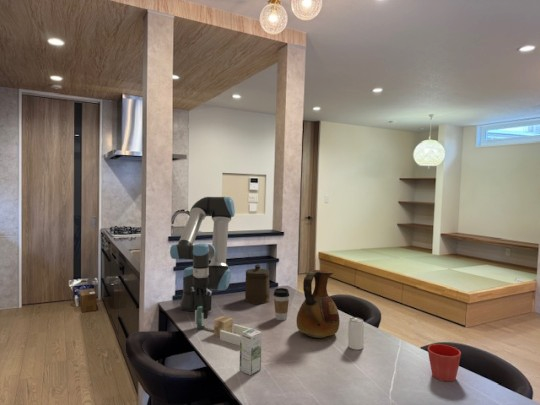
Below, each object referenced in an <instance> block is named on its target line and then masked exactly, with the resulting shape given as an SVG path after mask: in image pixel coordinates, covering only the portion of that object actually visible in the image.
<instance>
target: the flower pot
mask: <svg viewBox="0 0 540 405" xmlns="http://www.w3.org/2000/svg"><path fill="white" fill-rule="evenodd" d="M427 354H428V359H429V364H430V371H431V375H432V376H433V377H434V379H436V380H438V381H439V380H440V381H441V382H454V381H456V379H457V375H458V370H459V367H460V360H461V356H462V352H461V350H459V349H458V348H457V347H454V346H451V345H447V344H443V343H442V344H441V343H439V344H437V343H434V344H430V345H429V346H428V347H427Z"/></svg>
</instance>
